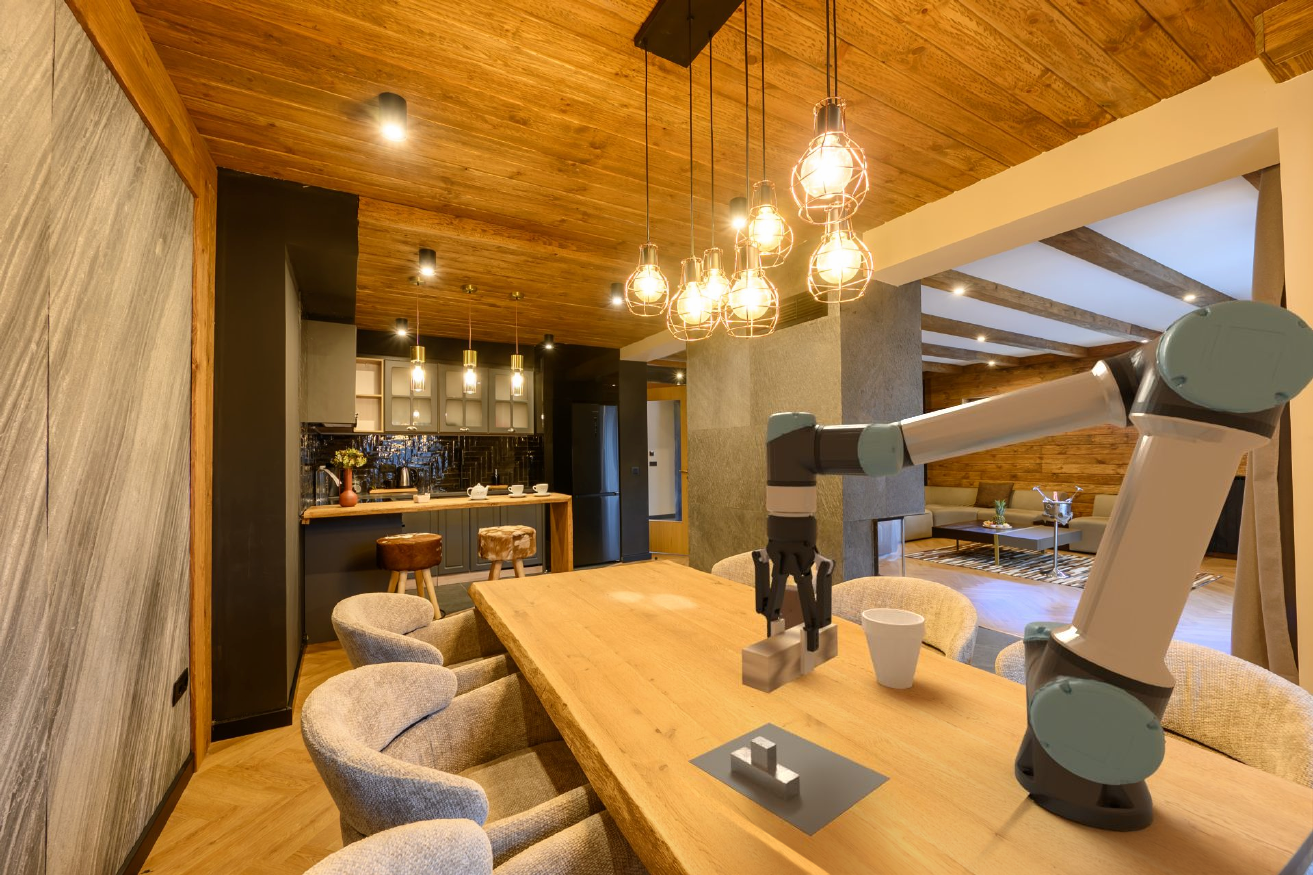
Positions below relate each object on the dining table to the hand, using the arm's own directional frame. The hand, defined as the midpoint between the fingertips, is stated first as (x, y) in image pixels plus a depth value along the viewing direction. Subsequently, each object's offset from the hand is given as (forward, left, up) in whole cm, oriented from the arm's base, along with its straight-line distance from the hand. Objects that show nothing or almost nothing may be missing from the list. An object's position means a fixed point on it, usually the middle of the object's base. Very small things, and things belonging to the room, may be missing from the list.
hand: (792, 666), depth 85 cm
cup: (+6, -42, -15) cm, 45 cm away
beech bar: (0, 0, 0) cm, 0 cm away
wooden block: (+24, -30, -15) cm, 42 cm away
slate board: (-1, +3, -15) cm, 15 cm away
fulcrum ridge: (-1, +8, -15) cm, 17 cm away
